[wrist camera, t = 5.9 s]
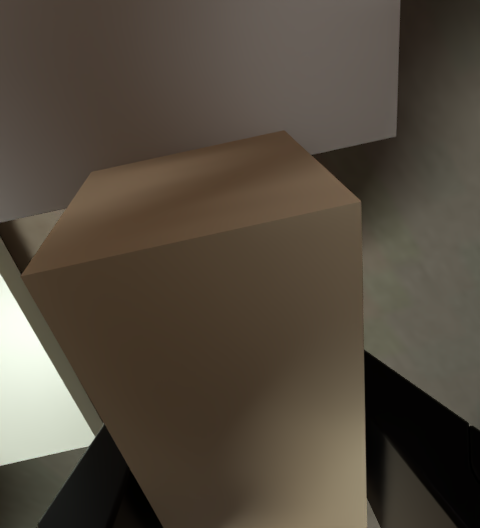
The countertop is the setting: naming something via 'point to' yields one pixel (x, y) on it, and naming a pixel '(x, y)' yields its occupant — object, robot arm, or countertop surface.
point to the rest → (36, 380)
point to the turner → (205, 236)
